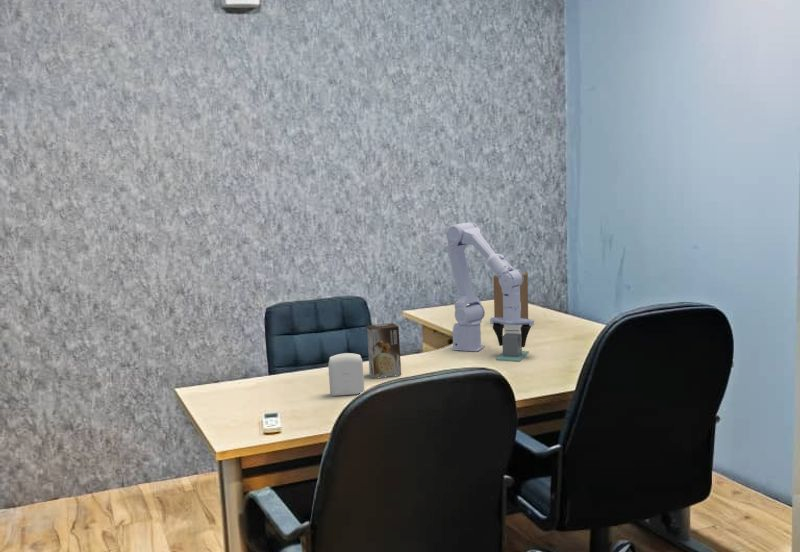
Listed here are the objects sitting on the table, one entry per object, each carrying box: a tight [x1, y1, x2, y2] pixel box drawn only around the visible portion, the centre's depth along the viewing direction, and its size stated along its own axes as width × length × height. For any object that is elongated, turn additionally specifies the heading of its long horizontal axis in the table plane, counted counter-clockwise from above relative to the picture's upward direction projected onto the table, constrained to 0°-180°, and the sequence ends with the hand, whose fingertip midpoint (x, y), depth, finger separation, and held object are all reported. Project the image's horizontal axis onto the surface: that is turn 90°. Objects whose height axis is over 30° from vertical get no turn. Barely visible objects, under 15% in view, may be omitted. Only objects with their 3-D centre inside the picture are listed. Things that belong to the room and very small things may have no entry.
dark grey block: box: [502, 333, 523, 357], centre depth 316 cm, size 5×5×7 cm
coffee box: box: [366, 322, 402, 379], centre depth 298 cm, size 9×6×16 cm
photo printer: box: [327, 352, 365, 397], centre depth 280 cm, size 10×4×12 cm, turn 96°
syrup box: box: [503, 302, 521, 336], centre depth 335 cm, size 6×6×14 cm
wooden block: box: [493, 272, 529, 328], centre depth 362 cm, size 10×10×20 cm
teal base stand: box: [495, 350, 530, 363], centre depth 316 cm, size 8×12×6 cm, turn 158°
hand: (512, 345), depth 316 cm, fingers open, 7 cm apart
